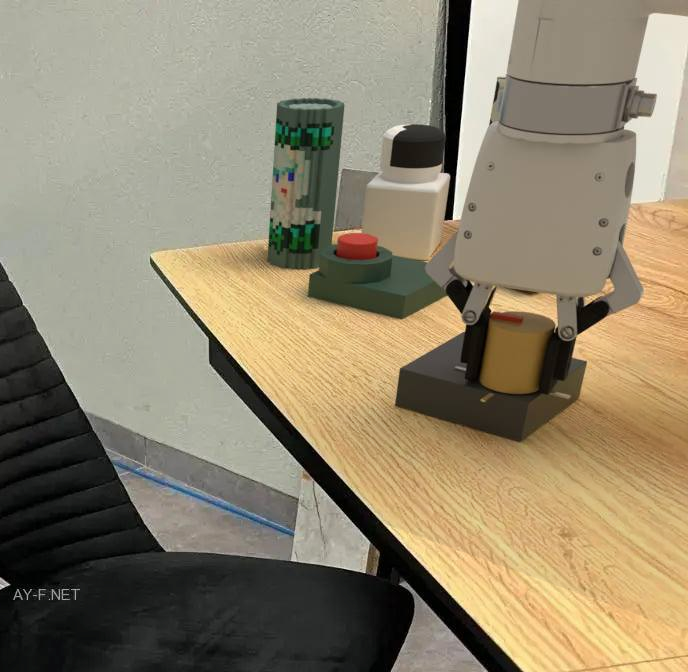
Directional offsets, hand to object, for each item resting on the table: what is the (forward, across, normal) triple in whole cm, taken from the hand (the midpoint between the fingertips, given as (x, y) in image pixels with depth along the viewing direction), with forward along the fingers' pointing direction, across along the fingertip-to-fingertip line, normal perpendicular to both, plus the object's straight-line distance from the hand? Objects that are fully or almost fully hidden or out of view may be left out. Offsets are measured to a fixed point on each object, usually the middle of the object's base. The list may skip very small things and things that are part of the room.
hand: (511, 378), depth 82 cm
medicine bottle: (+4, +21, -38) cm, 44 cm away
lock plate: (+3, +1, -2) cm, 4 cm away
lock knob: (0, 0, 0) cm, 0 cm away
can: (+4, +29, -29) cm, 41 cm away
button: (0, +20, -22) cm, 29 cm away
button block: (+3, +18, -23) cm, 29 cm away
